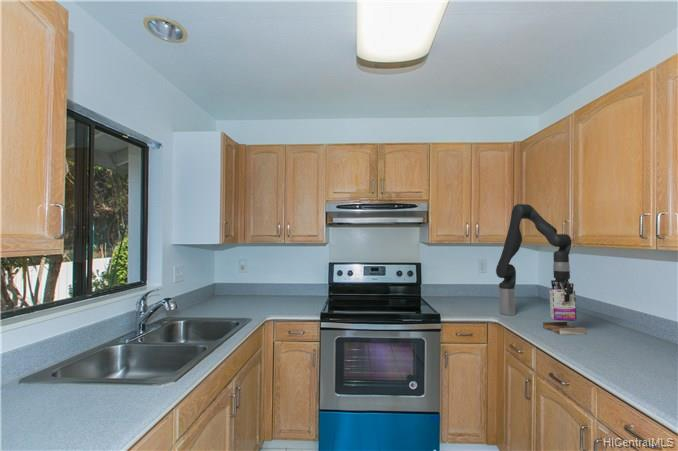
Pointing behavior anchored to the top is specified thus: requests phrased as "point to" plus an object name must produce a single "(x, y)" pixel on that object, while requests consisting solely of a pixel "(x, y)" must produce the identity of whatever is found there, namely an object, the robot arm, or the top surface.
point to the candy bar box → (562, 306)
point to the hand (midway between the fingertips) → (562, 300)
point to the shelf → (563, 328)
